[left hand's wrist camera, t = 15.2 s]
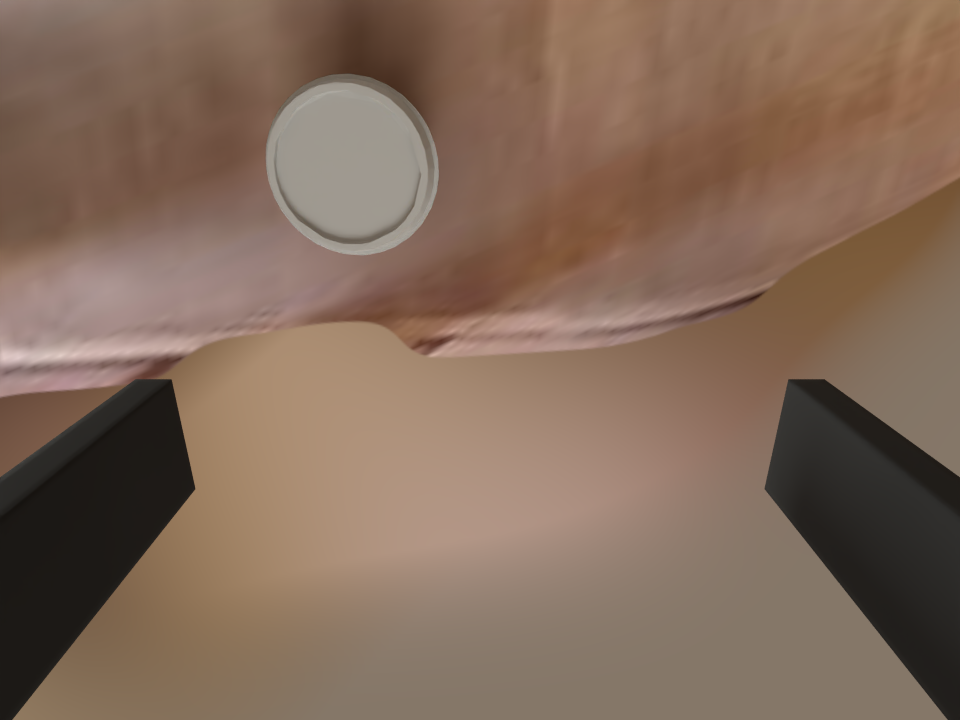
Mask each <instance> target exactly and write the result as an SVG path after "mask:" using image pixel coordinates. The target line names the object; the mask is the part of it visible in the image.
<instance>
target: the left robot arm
mask: <svg viewBox="0 0 960 720" xmlns="http://www.w3.org/2000/svg"><path fill="white" fill-rule="evenodd" d="M194 490H195V485H194V480H193V476H192V471H191V466H190V462H189V457H188V453H187V448H186V444H185V439H184V435H183V430H182V425H181V421H180V416H179V411H178V407H177V402H176V398H175V393H174V389H173V384H172V380H171V379H135V380H134V381H133V382H131V383H130V384H129V385H127V386H126V387H124V388H123V389H122V390H120V391H119V392H118V393H116V394H115V395H113V396H112V397H111V398H109V399H108V400H106V401H105V402H104V403H102V404H101V405H100V406H98V407H97V408H95V409H94V410H93V411H91V412H90V413H89V414H87V415H86V416H84V417H83V418H82V419H80V420H79V421H77V422H76V423H75V424H73V425H72V426H70V427H69V428H68V429H66V430H65V431H64V432H62V433H61V434H59V435H58V436H57V437H55V438H54V439H53V440H51V441H50V442H48V443H47V444H46V445H44V446H43V447H41V448H40V449H39V450H37V451H36V452H35V453H33V454H32V455H30V456H29V457H28V458H26V459H25V460H23V461H22V462H21V463H19V464H18V465H17V466H15V467H14V468H12V469H11V470H10V471H8V472H7V473H6V474H4V475H3V476H1V477H0V720H12V719H13V718H14V717H15V716H16V714H17V713H18V712H19V711H20V709H21V708H22V707H23V706H24V704H25V703H26V702H27V701H28V699H29V698H30V697H31V696H32V694H33V693H34V692H35V690H36V689H37V688H38V687H39V685H40V684H41V683H42V682H43V680H44V679H45V678H46V677H47V675H48V674H49V673H50V672H51V670H52V669H53V668H54V666H55V665H56V664H57V663H58V661H59V660H60V659H61V658H62V656H63V655H64V654H65V653H66V651H67V650H68V649H69V648H70V646H71V645H72V644H73V643H74V641H75V640H76V639H77V637H78V636H79V635H80V634H81V632H82V631H83V630H84V629H85V627H86V626H87V625H88V624H89V622H90V621H91V620H92V619H93V617H94V616H95V615H96V614H97V612H98V611H99V610H100V609H101V607H102V606H103V605H104V603H105V602H106V601H107V600H108V598H109V597H110V596H111V595H112V593H113V592H114V591H115V590H116V588H117V587H118V586H119V585H120V583H121V582H122V581H123V580H124V578H125V577H126V576H127V575H128V573H129V572H130V571H131V569H132V568H133V567H134V566H135V564H136V563H137V562H138V561H139V559H140V558H141V557H142V556H143V554H144V553H145V552H146V551H147V549H148V548H149V547H150V546H151V544H152V543H153V542H154V540H155V539H156V538H157V537H158V535H159V534H160V533H161V532H162V530H163V529H164V528H165V527H166V525H167V524H168V523H169V522H170V520H171V519H172V518H173V517H174V515H175V514H176V513H177V511H178V510H179V509H180V508H181V506H182V505H183V504H184V503H185V501H186V500H187V499H188V498H189V496H190V495H191V494H192V493H193V491H194ZM765 490H766V491H767V493H768V494H769V495H770V496H771V498H772V499H773V500H774V501H775V503H776V504H777V505H778V506H779V508H780V509H781V510H782V511H783V513H784V514H785V515H786V517H787V518H788V519H789V520H790V522H791V523H792V524H793V525H794V527H795V528H796V529H797V530H798V532H799V533H800V534H801V535H802V537H803V538H804V539H805V540H806V542H807V543H808V544H809V546H810V547H811V548H812V549H813V551H814V552H815V553H816V554H817V556H818V557H819V558H820V559H821V561H822V562H823V563H824V564H825V566H826V567H827V568H828V569H829V571H830V572H831V573H832V574H833V576H834V577H835V578H836V580H837V581H838V582H839V583H840V585H841V586H842V587H843V588H844V590H845V591H846V592H847V593H848V595H849V596H850V597H851V598H852V600H853V601H854V602H855V603H856V605H857V606H858V607H859V608H860V610H861V611H862V612H863V614H864V615H865V616H866V617H867V619H868V620H869V621H870V622H871V624H872V625H873V626H874V627H875V629H876V630H877V631H878V632H879V634H880V635H881V636H882V638H883V639H884V640H885V641H886V643H887V644H888V645H889V646H890V648H891V649H892V650H893V651H894V653H895V654H896V655H897V656H898V658H899V659H900V660H901V661H902V663H903V664H904V665H905V667H906V668H907V669H908V670H909V672H910V673H911V674H912V675H913V677H914V678H915V679H916V680H917V682H918V683H919V684H920V685H921V687H922V688H923V689H924V690H925V692H926V693H927V694H928V695H929V697H930V698H931V699H932V701H933V702H934V703H935V704H936V706H937V707H938V708H939V709H940V711H941V712H942V713H943V714H944V716H945V717H946V718H947V719H948V720H960V477H959V476H957V475H956V474H954V473H953V472H952V471H950V470H949V469H948V468H946V467H945V466H943V465H942V464H941V463H939V462H938V461H937V460H935V459H934V458H932V457H931V456H930V455H928V454H927V453H925V452H924V451H923V450H921V449H920V448H919V447H917V446H916V445H914V444H913V443H912V442H910V441H909V440H907V439H906V438H905V437H903V436H902V435H901V434H899V433H898V432H896V431H895V430H894V429H892V428H891V427H890V426H888V425H887V424H885V423H884V422H883V421H881V420H880V419H878V418H877V417H876V416H874V415H873V414H872V413H870V412H869V411H867V410H866V409H865V408H863V407H862V406H860V405H859V404H858V403H856V402H855V401H854V400H852V399H851V398H849V397H848V396H847V395H845V394H844V393H843V392H841V391H840V390H838V389H837V388H836V387H834V386H833V385H831V384H830V383H829V382H827V381H826V380H825V379H789V380H788V384H787V388H786V393H785V398H784V402H783V407H782V412H781V416H780V421H779V425H778V430H777V434H776V439H775V444H774V448H773V453H772V457H771V462H770V466H769V471H768V476H767V480H766V485H765Z"/></svg>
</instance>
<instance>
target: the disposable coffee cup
mask: <svg viewBox="0 0 960 720" xmlns="http://www.w3.org/2000/svg"><path fill="white" fill-rule="evenodd" d="M266 169H267V175H268V180H269V184H270V187H271V189H272V192H273V195H274V198H275V200H276V201H277V203H278V205H279V207H280V209H281V211H282V212H283V213H284V215H285V216H286V217H287V218H288V220H289V221H290V222H291V224H292V225H293V226H294V227H295V228H296V229H297V230H298V231H300V232H301V233H302V234H303V235H304V236H306V237H307V238H309V239H310V240H311V241H313V242H314V243H316V244H318V245H320V246H322V247H324V248H327V249H329V250H332V251H336V252H339V253H343V254H352V255H369V254H374V253H380V252H383V251H386V250H388V249H391V248H393V247H396V246H397V245H399V244H400V243H402V242H403V241H405V240H406V239H408V238H409V237H410V236H411V235H412V234H413V233H414V232H415V231H416V230H417V229H418V228H419V227H420V226H421V225H422V223H423V222H424V220H425V218H426V216H427V215H428V213H429V211H430V209H431V208H432V205H433V201H434V198H435V195H436V192H437V187H438V179H439V170H438V157H437V152H436V148H435V144H434V141H433V138H432V136H431V133H430V130H429V128H428V126H427V125H426V123H425V121H424V119H423V118H422V116H421V115H420V114H419V112H418V111H417V110H416V108H415V107H414V106H413V105H412V104H411V103H410V102H409V101H408V100H407V99H406V98H405V97H404V96H403V95H402V94H400V93H399V92H397V91H396V90H394V89H393V88H391V87H390V86H388V85H387V84H385V83H382V82H380V81H378V80H375V79H373V78H371V77H366V76H361V75H355V74H332V75H329V76H325V77H321V78H318V79H315V80H313V81H311V82H309V83H307V84H305V85H303V86H301V87H300V88H299V89H298V90H297V91H296V92H294V93H293V94H292V95H291V96H290V97H289V98H288V99H287V100H286V101H285V103H284V104H283V105H282V106H281V107H280V109H279V111H278V113H277V115H276V116H275V118H274V120H273V122H272V125H271V128H270V131H269V134H268V140H267V145H266Z"/></svg>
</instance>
